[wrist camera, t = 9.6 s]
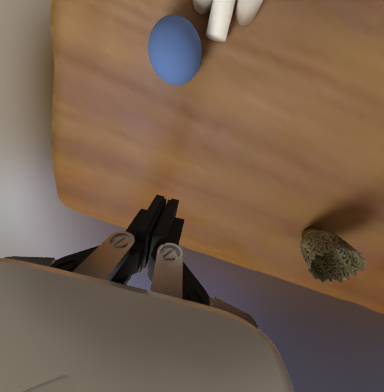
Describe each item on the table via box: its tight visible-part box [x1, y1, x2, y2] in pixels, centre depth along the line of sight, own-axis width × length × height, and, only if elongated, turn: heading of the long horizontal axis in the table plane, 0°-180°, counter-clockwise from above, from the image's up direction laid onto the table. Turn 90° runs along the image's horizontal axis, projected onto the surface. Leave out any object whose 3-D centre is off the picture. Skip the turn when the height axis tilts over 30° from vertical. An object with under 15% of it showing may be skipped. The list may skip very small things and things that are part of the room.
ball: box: [148, 15, 202, 85], centre depth 19 cm, size 6×6×6 cm
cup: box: [300, 227, 367, 283], centre depth 29 cm, size 8×7×8 cm
